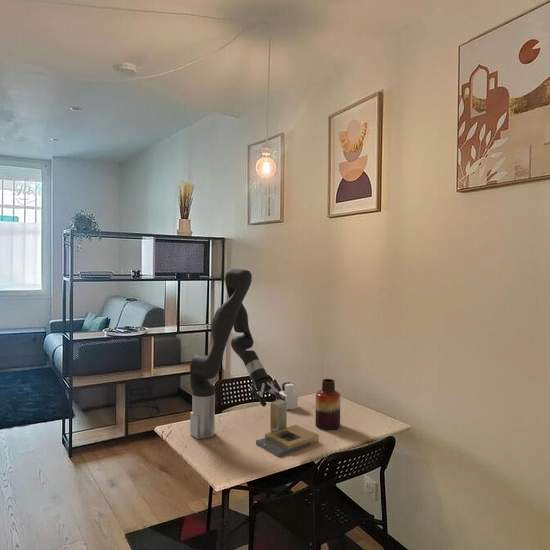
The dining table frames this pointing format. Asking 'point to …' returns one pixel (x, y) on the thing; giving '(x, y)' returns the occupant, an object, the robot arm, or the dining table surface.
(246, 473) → the dining table surface
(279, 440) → the tan flat frame
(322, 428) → the vase
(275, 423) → the skincare box
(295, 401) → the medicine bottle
